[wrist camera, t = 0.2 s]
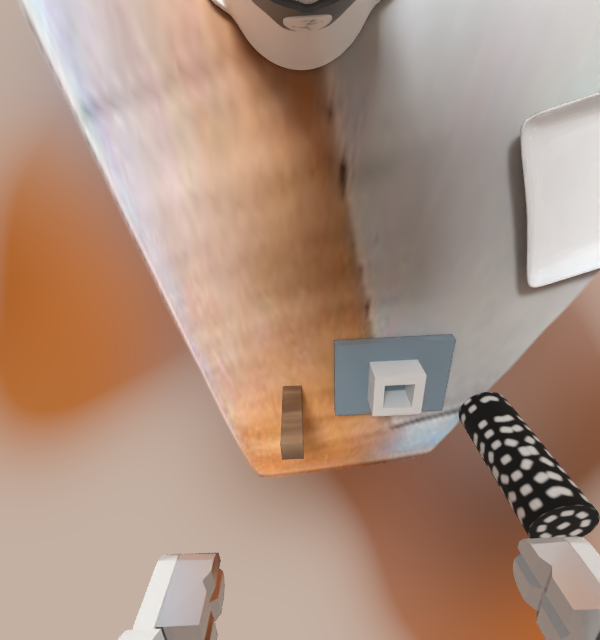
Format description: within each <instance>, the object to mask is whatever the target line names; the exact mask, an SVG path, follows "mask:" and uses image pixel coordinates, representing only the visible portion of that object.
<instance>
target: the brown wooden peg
mask: <svg viewBox="0 0 600 640" xmlns="http://www.w3.org/2000/svg"><path fill="white" fill-rule="evenodd" d="M280 445H281V454H282V460H283V459H304V449H303V415H302V391H301V386H285V387H283V400H282V422H281V443H280Z"/></svg>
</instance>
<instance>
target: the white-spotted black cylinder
mask: <svg viewBox="0 0 600 640" xmlns="http://www.w3.org/2000/svg"><path fill="white" fill-rule="evenodd" d="M459 418H460V421H461V422H462V424H463V426H464V427H465V429H466V431H467V433H468V434H469V436H470V438H471V439H472V441H473V443H474V444H475V446H476V448H477V449H478V451H479V453H480V454H481V456H482V458H483V460H484V461H485V463H486V465H487V466H488V468H489V470H490V471H491V473H492V475H493V476H494V478H495V480H496V481H497V483H498V485H499V486H500V488H501V490H502V492H503V493H504V495H505V497H506V498H507V500H508V502H509V504H510V505H511V507H512V509H513V510H514V512H515V514H516V515H517V517H518V519H519V520H520V522H521V524H522V526H523V527H524V529H525V531H526V532H527V534H528V536H529V537H530V538H531V539H533V538H548V537H574V536H578V537H583V536H585V535H587V534H588V533H590V532H591V531H592V530H593V529H594V528H595V527H596V526H597V524H598V522H599V519H600V516H599V513H598V511H597V510H596V509H595V508H594V507H593V505H592V504H591V503H590V502H589V501H588V499H587V498H586V497H585V495H584V494H583V493H582V492H581V491H580V489H579V488H578V487H577V486H576V484H575V483H574V482H573V481H572V480H571V479H570V477H569V476H568V475H567V473H566V472H565V471H564V470H563V469H562V467H561V466H560V465H559V464H558V462H557V461H556V460H555V459H554V458H553V456H552V455H551V454H550V453H549V451H548V450H547V449H546V448H545V447H544V445H543V444H542V443H541V442H540V440H539V439H538V438H537V437H536V435H535V434H534V433H533V432H532V430H531V429H530V428H529V427H528V426H527V425H526V423H525V422H524V421H523V420H522V418H521V417H520V416H519V415H518V413H517V412H516V411H515V410H514V409H513V407H512V406H511V405H510V404H509V402H508V401H507V400H506V399H505V397H503V396H502V395H500V394H498V393H494V392H484V393H480V394H477V395H475V396H473V397H471V398H469V399H468V400H467V401H466V402H465V403H464V404H463V405H462V406H461V408H460V411H459Z"/></svg>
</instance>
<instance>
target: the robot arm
mask: <svg viewBox="0 0 600 640" xmlns="http://www.w3.org/2000/svg"><path fill="white" fill-rule="evenodd" d="M211 1H212V2H214V3H215V4H216V5H217V6H218V7H220V8H221V9H223V10H224V11H225V12H227V13H228V14H230V15H231V17H232V18H233V19H234V20H235V22H236V23H237V25H238V26H239V28H240V29H241V31H242V33H243V34H244V36H245V37H246V39H247V40H248V41H249V43H250V44H251V45H252V46H253V47H254V48H255V49H256V50H257V51H258V52H259V53H260V54H261V55H262V56H264V57H265V58H266V59H268V60H269V61H271V62H273V63H274V64H277V65H279V66H281V67H284V68H288V69H293V70H310V69H315V68H318V67H321V66H324V65H326V64H328V63H330V62H331V61H333V60H335V59H336V58H337V57H339V56H340V55H341V54H342V53H343V52H344V51H345V50H347V48H348V47H349V46H350V45H351V44H352V43H353V41H354V40H355V39H356V37H357V36H358V34H359V33H360V31H361V29H362V27H363V25H364V23H365V21H366V20H367V18H368V16H369V14H370V12H371V11H372V9H373V8H374V6H375V5H376V4H377V3H378V2H380V1H381V0H211ZM518 549H519V551H520V552H521V554H520V555H519V556H518V557H516V558H515V559H514V563H513V571H514V578H515V581H516V584H517V586H518V589H519V591H520V593H521V595H522V597H523V598H524V600H525V601H526V602H527V603H528V604H529V605H531V606H532V607H533V608H534V609H535V610H536V622H537V624H538V626H539V628H540V630H541V632H542V633H543V635H544V637H545V639H546V640H600V555H599V554H598V553H597V552H596V551H595V549H594V548H593V547H592V545H591V544H590V543H589V542H588V541H587V540H585V539H584V538H583V537H578V536H574V537H548V538H533V539H523V540H521V541H520V542H519V545H518ZM220 561H221V560H220V556H219V553H198V554H197V553H196V554H166V555H162V556H161V557H160V559H159V560H158V562H157V564H156V567H155V569H154V572H153V575H152V578H151V580H150V583H149V585H148V589H147V591H146V594H145V597H144V599H143V602H142V604H141V607H140V610H139V612H138V615H137V618H136V620H135V623H134V626H133V628H132V629H129V630H126V631H125V632H124V633H123V634H122V635H121V636H120V637H119V639H118V640H217V630H216V626H215V621H216V620H217V618H218V617H219V616H220V614H221V612H222V606H223V600H224V586H225V585H224V574H223V571H222V570H221V569H219V566H220Z"/></svg>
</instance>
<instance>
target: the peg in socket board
mask: <svg viewBox="0 0 600 640" xmlns="http://www.w3.org/2000/svg"><path fill="white" fill-rule="evenodd" d="M455 341H456V339H455V338H454V336H453V335H452V334H447V335H427V336H408V337H389V338H370V339H351V340H334V409H335V415H354V414H372V416H392V415H413V414H421V411H436V410H442V408H443V403H444V398H445V393H446V388H447V382H448V377H449V372H450V367H451V362H452V357H453V352H454V346H455Z"/></svg>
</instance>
